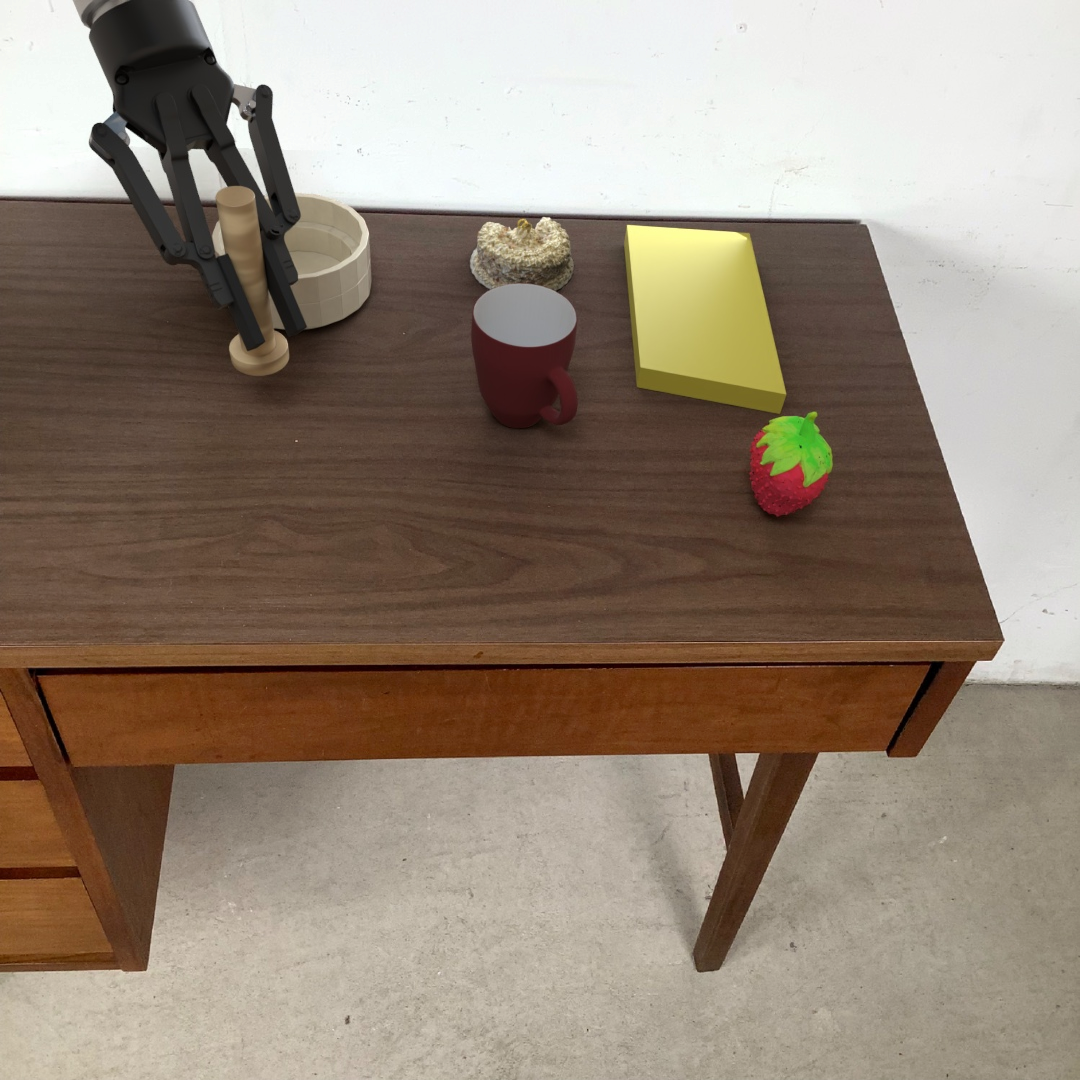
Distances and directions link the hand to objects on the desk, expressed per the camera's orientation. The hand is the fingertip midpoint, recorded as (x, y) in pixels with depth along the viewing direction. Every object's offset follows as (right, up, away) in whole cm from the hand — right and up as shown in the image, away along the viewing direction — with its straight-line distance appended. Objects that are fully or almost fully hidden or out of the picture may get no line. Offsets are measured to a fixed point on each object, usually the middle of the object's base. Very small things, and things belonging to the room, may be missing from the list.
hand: (276, 338), depth 77 cm
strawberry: (+38, -12, +6) cm, 40 cm away
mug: (+18, -5, +11) cm, 22 cm away
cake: (+17, +11, +25) cm, 32 cm away
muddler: (-3, 0, +5) cm, 6 cm away
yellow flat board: (+34, +5, +21) cm, 40 cm away
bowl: (-3, +8, +20) cm, 21 cm away
